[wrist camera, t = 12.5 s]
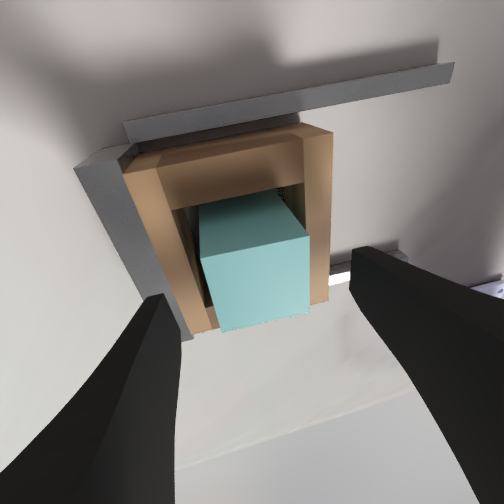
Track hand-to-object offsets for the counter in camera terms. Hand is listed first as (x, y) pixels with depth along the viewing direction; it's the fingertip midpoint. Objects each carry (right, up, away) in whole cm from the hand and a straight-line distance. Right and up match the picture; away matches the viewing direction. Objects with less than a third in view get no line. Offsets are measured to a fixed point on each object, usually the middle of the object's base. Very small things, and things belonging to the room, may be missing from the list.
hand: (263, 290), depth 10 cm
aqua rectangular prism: (-1, +3, +5) cm, 6 cm away
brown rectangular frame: (-1, +3, +5) cm, 6 cm away
